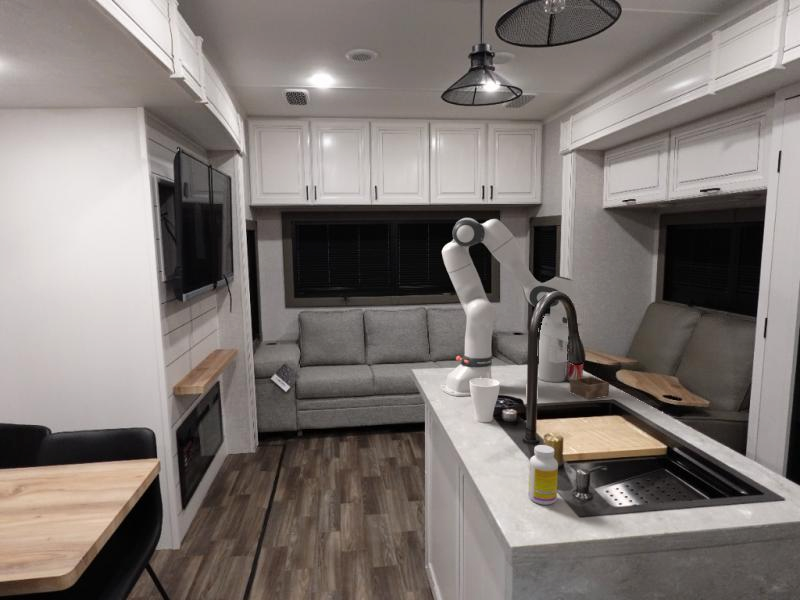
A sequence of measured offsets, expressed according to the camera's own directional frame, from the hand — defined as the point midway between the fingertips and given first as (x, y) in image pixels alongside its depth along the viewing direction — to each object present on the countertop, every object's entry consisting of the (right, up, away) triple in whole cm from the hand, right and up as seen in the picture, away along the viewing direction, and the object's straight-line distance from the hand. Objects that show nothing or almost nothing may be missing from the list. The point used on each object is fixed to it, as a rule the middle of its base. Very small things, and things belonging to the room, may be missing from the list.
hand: (559, 350), depth 204 cm
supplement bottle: (-30, -29, -81) cm, 91 cm away
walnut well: (+13, -18, +1) cm, 22 cm away
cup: (-35, -22, -28) cm, 50 cm away
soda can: (+13, -16, +21) cm, 30 cm away
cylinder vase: (+4, -16, +23) cm, 28 cm away
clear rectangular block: (0, -5, +1) cm, 5 cm away
